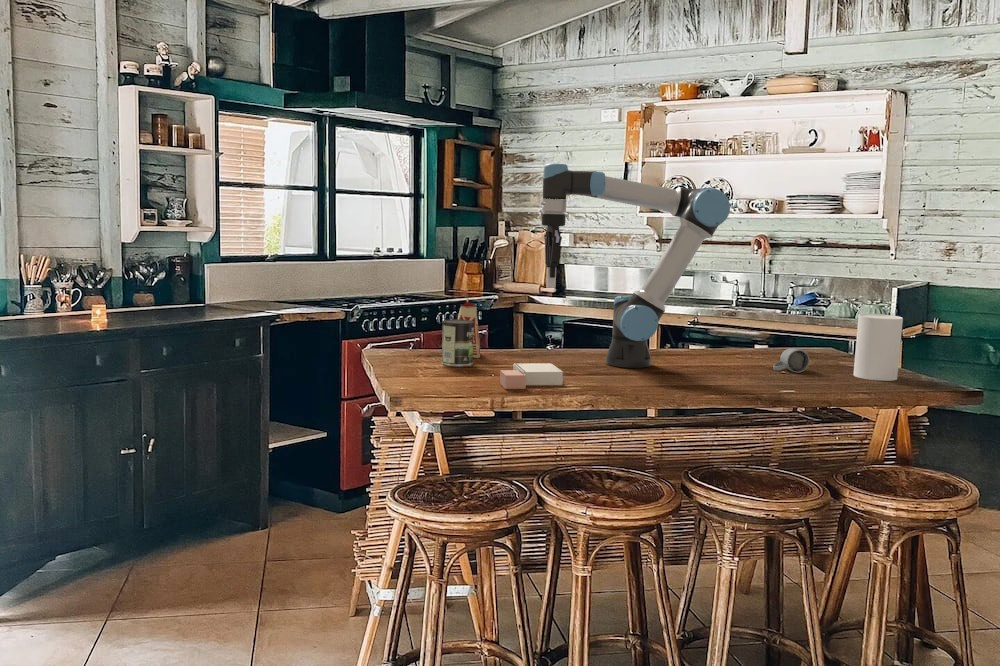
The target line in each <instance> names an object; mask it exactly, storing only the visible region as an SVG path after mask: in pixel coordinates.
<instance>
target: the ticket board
mask: <svg viewBox="0 0 1000 666" xmlns="http://www.w3.org/2000/svg"><path fill="white" fill-rule="evenodd" d="M512 367H513V368H512V370H520V371H522V372H523V373H524V374H525V375H526V386H563V382H564V381H563V378H564V371H562V370H561V369H560V368H558V366H555V365H554V364H553V363H551V362H550V363H549V362H548V363H543V362H542V363H540V362H539V363H531V362H530V363H529V362H528V363H517V362H515V363H513V365H512Z"/></svg>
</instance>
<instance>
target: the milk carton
mask: <svg viewBox="0 0 1000 666" xmlns="http://www.w3.org/2000/svg"><path fill="white" fill-rule="evenodd" d="M469 299H470V298H466V302H465V303H463V304H462V305H461V306H460V308H459V312H458V316H457V319H458V320H470V321H473V322H474V328H473V358H476V359H479V358H480V356H481V346H480V345H481V342H480V341H481V340H480V332H479V322H478V311H477V308H478V307H477V305H474V304H473V303H470V302H469Z"/></svg>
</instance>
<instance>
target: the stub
mask: <svg viewBox="0 0 1000 666" xmlns="http://www.w3.org/2000/svg"><path fill="white" fill-rule="evenodd" d="M499 385H501V386H502V388H503V389H505V390H526V389H527V387H526V386H527V385H526V375H525V374H524V373H523V372H522V371H520V370H513V369H510V370H509V369H508V370H507V369H506V370H505V369H503V370H502V369H501V370H499Z"/></svg>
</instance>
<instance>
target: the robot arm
mask: <svg viewBox="0 0 1000 666" xmlns="http://www.w3.org/2000/svg"><path fill="white" fill-rule="evenodd" d="M543 167H544V168H543V174H542V175H543V176H542V177H543V178H542V201H541V202H540V205H541V206H542V207H541V211H542V212H543V213H542V214H541V225H542V226H543V227H544V226H545V227H546V226H547V227H546V228H547V229H546V231H545V234H544V236H543V237H544V263H545V266H546V284H545V285H546V287H545V288H546V289H556V286H557V284H556V283H557V280H556V279H557V267H558V266H559V263H560V254H561V243H562V240H563V236H561V232H560V227H565V225H566V215H565V213H566V212H567V195H569V196H571V195H572V196H585V197H590V198H594V199H595V198H596V199H601V200H607V201H609V202H610V201H611V202H617V203H621V204H625V205H632V206H636V207H642V208H647V209H652V210H658V211H662V212H668V213H670V214H671V216H673V217H675V218H676V217H678V218H679V222H680V226H679V227H678V229H677V231H676V233H675V234H674V236H673V237H672V239H671V240H670V242H669V243H668V246H667V247H666V249H665V250H664V252H663V253H662V255H661V256H660V258H659V260H658V262H657V264H656V265H655V267H654V268H653V270H652V271H651V273H650V274H649V276H648V277H647V279H646V281H645V282H644V284H643V286H642V287H641V289H638V290H635V291H634V292H633V293H632V294H631V295H627V296H626V295H619V296H616V297H614V299H613V306H612V307H613V313H612V314H613V315H612V316H613V318H612V333H611V334H612V338H611V343H610V345H609V348H608V350H607V353H606V355H605V364H606V365H607V366H608V365H609V366H612V367H618V368H629V369H630V368H631V369H633V368H634V369H640V368H641V369H642V368H648V367H651V366H652V357H651V354H650V349H649V345H648V340H649V339H650V338H652V337H653V336H654V335H655V334H656V332H657V331H658V327H659V321H660V320H661V318H662V316H663V315H664V313H665V312H666V308H665V303H666V302H667V300H668V298H669V297H670V295H671V293H672V292H673V290H674V289H675V287H676V286H677V284H678V282H679V281H680V278H681V277H682V275H683V274H684V273H685V271H686V269H687V268H688V265H690V263H691V262H692V259H693V258H694V256H695V255H696V253H697V252H698V250H699V248H700V247H701V245H703V244H702V243H703V242H704V241H705V240H706V239H710V238H712V236H713V235H714V234H715V233H716V230H717V229H718V227H719V226H720V225H722V224H723V223H725V221H726V220H727V219H728V217H729V215H730V212H731V203H730V199H729V198H728V196H727V195H726V194H725V193H724V192H723V191H721V190H720V189H717V188H715V187H705V188H704V187H703V188H701V187H700V188H686V187H682V186H681V187H680V186H679V187H677V188H668V187H664V186H659V185H653V184H649V183H643V182H638V181H632V180H629V179H628V180H627V179H624V178H617V177H614V176H613V177H611V176H607V175H606V174H605V172H603V171H597V170H590V171H589V170H570V169H569V168H568V164H566V163H547V164H545V165H543Z"/></svg>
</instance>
